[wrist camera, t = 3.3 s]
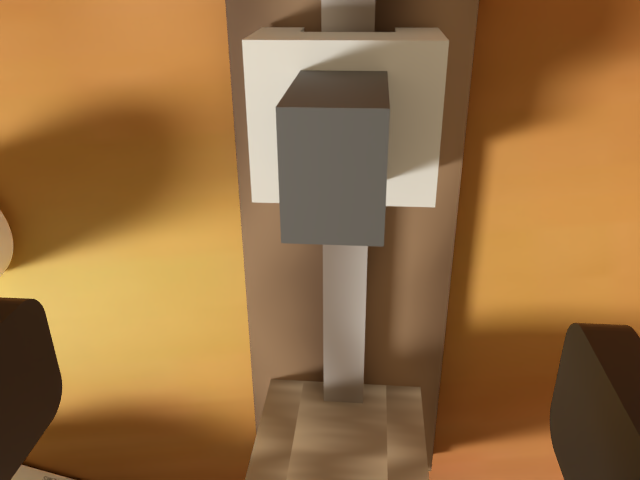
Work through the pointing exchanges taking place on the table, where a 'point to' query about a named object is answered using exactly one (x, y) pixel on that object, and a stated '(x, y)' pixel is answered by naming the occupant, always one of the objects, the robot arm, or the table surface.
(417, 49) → the carriage
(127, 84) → the table surface
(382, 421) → the rail board
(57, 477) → the tea box
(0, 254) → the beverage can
